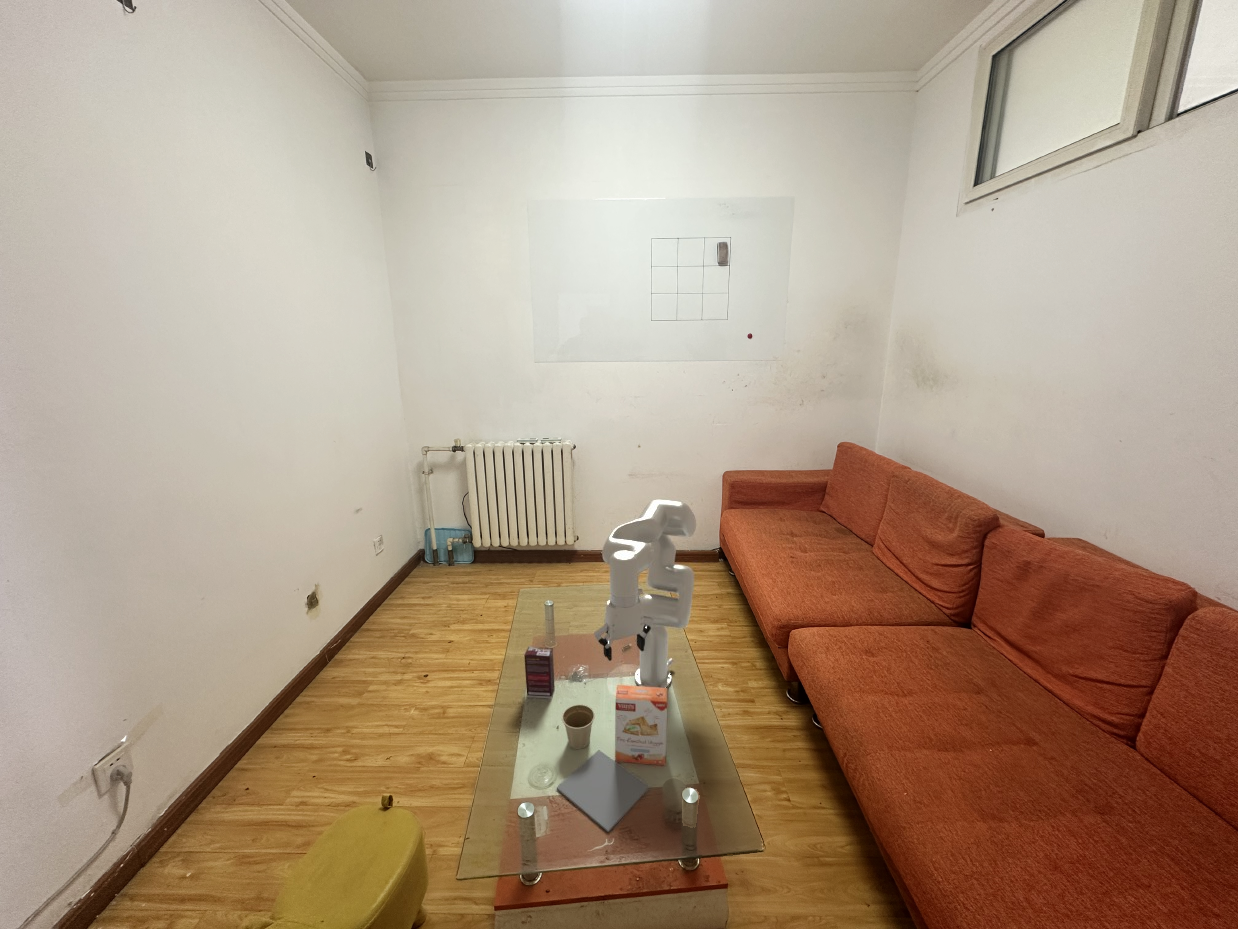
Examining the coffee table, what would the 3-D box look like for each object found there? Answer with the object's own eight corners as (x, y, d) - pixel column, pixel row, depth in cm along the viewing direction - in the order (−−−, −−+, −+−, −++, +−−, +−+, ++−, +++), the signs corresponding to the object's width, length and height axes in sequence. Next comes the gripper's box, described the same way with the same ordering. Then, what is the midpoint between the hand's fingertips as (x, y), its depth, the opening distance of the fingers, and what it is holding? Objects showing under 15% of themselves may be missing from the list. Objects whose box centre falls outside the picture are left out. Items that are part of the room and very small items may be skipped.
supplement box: (555, 689, 164) (553, 647, 160) (551, 699, 159) (550, 656, 156) (529, 687, 165) (527, 646, 161) (526, 697, 160) (523, 655, 156)
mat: (598, 751, 139) (598, 749, 138) (649, 787, 127) (649, 785, 127) (556, 789, 127) (556, 787, 127) (608, 832, 115) (608, 830, 115)
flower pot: (565, 757, 137) (564, 731, 135) (560, 732, 145) (559, 707, 143) (598, 750, 139) (598, 724, 137) (591, 726, 148) (590, 701, 146)
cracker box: (614, 763, 135) (614, 698, 130) (616, 746, 140) (616, 683, 136) (665, 767, 133) (667, 701, 128) (665, 749, 139) (667, 686, 134)
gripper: (646, 584, 136) (646, 637, 141) (588, 597, 129) (590, 653, 134) (659, 596, 130) (658, 652, 134) (599, 611, 123) (600, 670, 127)
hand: (624, 653), depth 134 cm, fingers open, 9 cm apart
